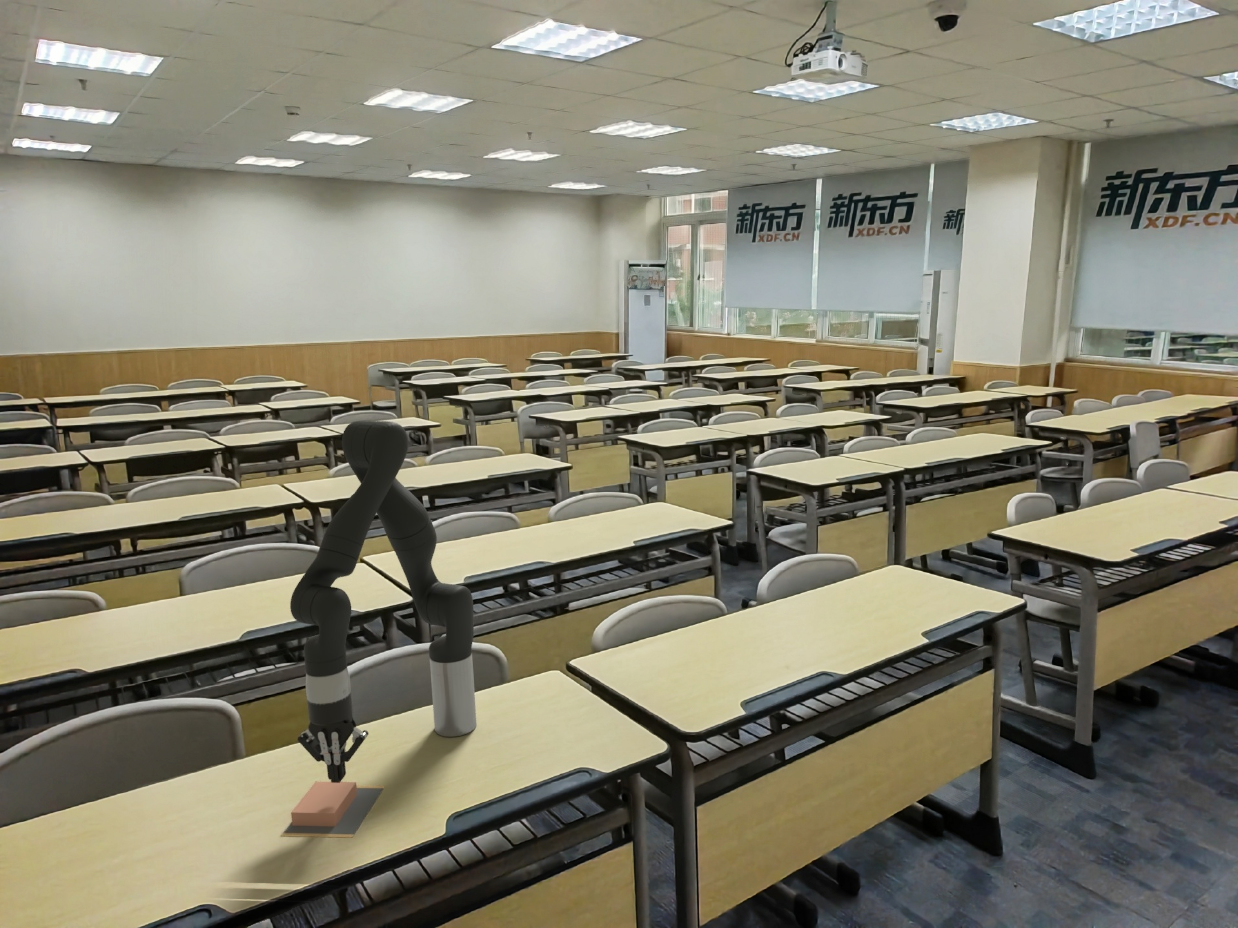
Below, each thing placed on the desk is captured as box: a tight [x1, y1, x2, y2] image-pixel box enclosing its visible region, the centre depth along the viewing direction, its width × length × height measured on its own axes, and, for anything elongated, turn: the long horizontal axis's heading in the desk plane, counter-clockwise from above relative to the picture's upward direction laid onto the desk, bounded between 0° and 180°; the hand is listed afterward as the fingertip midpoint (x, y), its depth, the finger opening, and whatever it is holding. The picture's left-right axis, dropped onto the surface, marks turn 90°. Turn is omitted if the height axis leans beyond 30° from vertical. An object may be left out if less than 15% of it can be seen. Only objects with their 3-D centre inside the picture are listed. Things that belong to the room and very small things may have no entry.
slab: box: [290, 781, 358, 827], centre depth 151 cm, size 10×3×8 cm
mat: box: [280, 785, 386, 839], centre depth 151 cm, size 16×13×1 cm
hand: (337, 780), depth 150 cm, fingers closed
